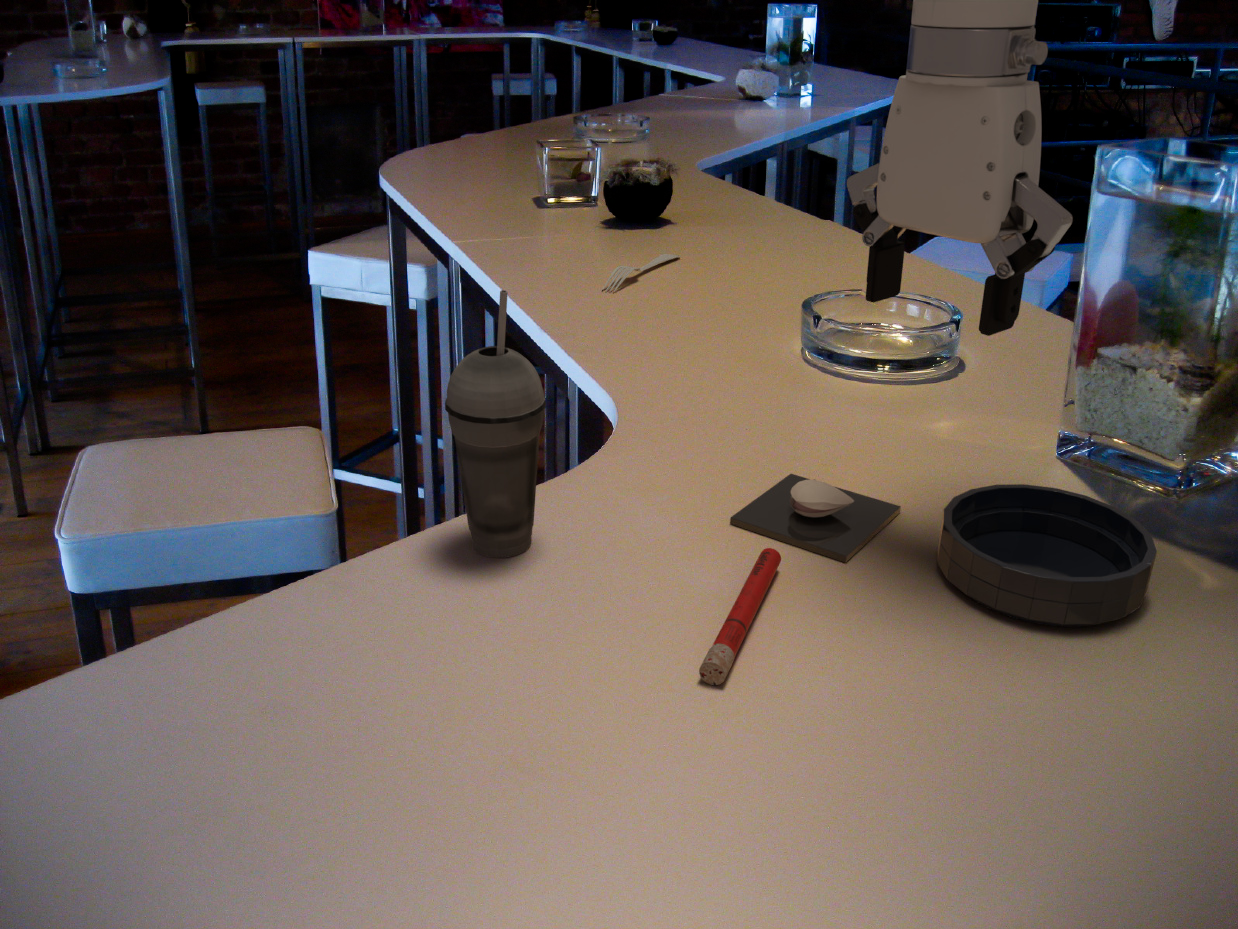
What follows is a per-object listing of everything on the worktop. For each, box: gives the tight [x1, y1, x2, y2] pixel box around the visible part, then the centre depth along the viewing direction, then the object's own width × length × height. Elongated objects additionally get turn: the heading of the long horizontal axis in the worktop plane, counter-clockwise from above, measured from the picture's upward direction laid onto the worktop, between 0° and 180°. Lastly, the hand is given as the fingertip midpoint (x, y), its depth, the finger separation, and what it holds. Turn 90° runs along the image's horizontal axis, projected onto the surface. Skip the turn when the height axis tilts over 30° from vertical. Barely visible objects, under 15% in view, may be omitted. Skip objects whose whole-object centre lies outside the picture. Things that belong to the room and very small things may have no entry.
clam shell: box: [790, 479, 854, 517], centre depth 86 cm, size 4×5×2 cm
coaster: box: [729, 473, 901, 564], centre depth 87 cm, size 10×10×1 cm
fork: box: [602, 253, 681, 292], centre depth 151 cm, size 3×21×3 cm, turn 152°
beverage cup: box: [444, 289, 547, 559], centre depth 78 cm, size 7×7×20 cm
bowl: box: [936, 483, 1158, 628], centre depth 78 cm, size 14×14×4 cm
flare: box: [698, 547, 782, 686], centre depth 73 cm, size 2×15×2 cm, turn 159°
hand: (936, 313), depth 77 cm, fingers open, 9 cm apart
